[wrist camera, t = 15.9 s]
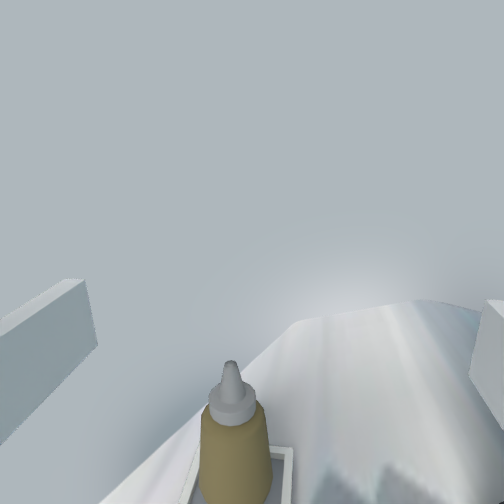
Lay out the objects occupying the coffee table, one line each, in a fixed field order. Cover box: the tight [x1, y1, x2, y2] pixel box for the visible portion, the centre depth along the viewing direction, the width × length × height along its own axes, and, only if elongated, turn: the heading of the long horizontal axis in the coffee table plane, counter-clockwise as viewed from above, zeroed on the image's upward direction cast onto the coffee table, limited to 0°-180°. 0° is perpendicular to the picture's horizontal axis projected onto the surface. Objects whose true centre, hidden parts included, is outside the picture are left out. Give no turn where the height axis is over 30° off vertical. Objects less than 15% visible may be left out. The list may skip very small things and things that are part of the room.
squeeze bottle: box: [199, 360, 273, 504], centre depth 36 cm, size 8×8×18 cm
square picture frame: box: [178, 442, 293, 504], centre depth 39 cm, size 12×13×2 cm
